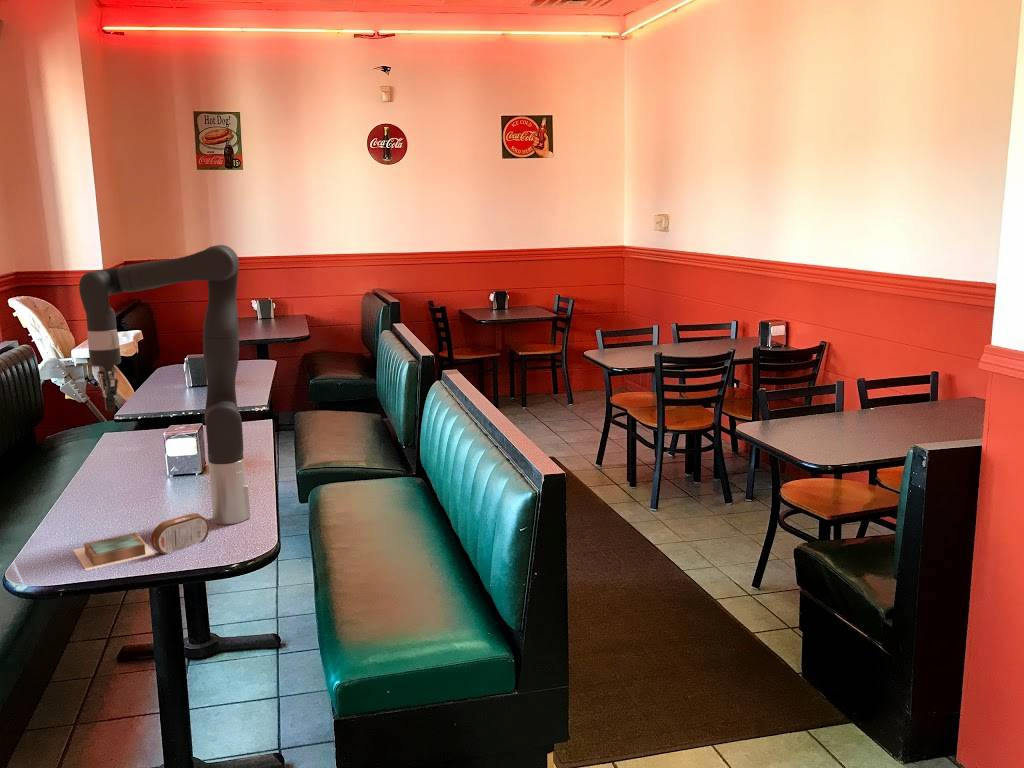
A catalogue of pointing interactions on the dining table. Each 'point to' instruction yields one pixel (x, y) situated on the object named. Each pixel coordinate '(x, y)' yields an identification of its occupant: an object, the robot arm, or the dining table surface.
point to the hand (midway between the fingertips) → (110, 410)
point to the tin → (179, 533)
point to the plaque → (114, 549)
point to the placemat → (88, 565)
